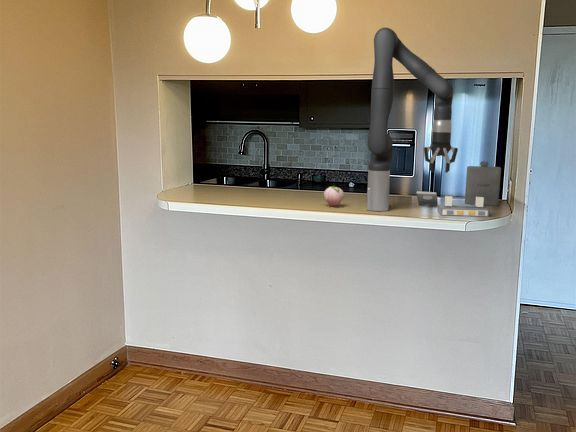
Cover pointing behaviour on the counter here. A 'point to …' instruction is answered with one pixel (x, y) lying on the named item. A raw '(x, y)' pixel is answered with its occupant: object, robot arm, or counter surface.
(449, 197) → the slider left
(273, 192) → the counter surface
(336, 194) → the decorative fruit
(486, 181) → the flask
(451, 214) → the switch unit
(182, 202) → the counter surface
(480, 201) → the slider right
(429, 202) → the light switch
